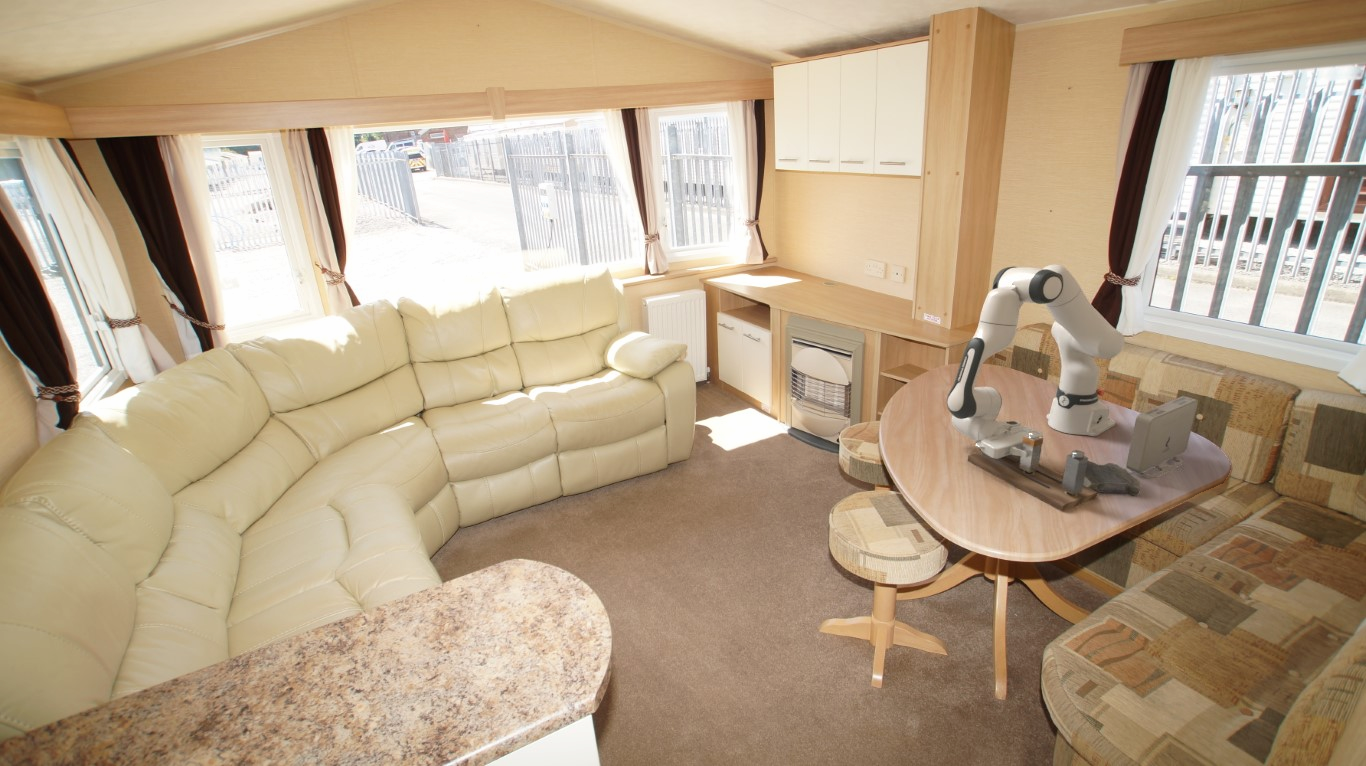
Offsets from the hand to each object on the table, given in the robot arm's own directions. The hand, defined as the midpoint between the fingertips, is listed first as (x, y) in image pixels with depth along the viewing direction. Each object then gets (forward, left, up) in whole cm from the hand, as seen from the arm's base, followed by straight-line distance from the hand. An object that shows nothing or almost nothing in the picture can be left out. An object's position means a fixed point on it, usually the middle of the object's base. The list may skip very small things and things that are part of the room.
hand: (1033, 453), depth 190 cm
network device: (-39, +12, -9) cm, 42 cm away
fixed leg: (0, +13, -7) cm, 15 cm away
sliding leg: (0, -1, -7) cm, 7 cm away
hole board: (0, -1, -9) cm, 9 cm away
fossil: (-17, +11, -10) cm, 22 cm away
